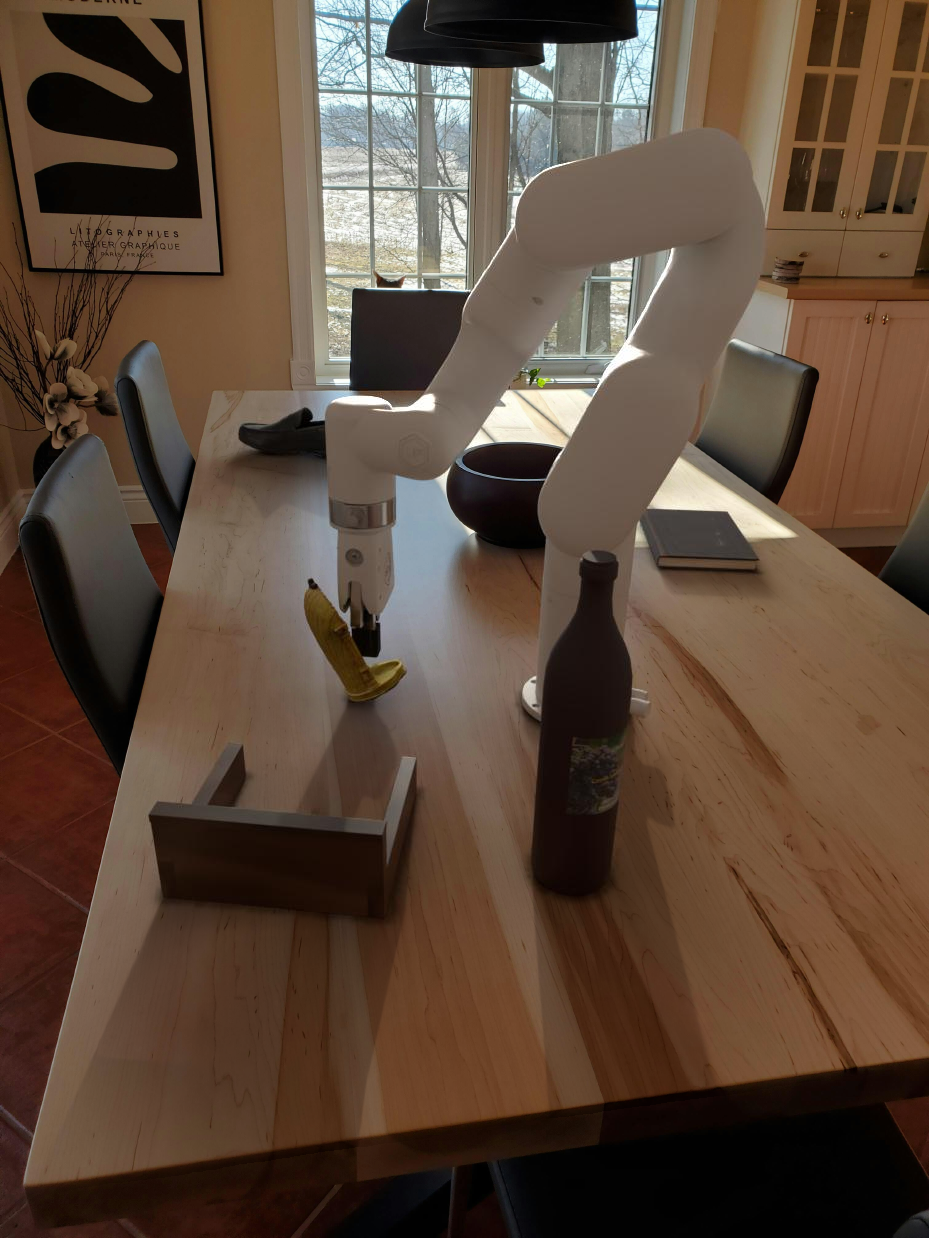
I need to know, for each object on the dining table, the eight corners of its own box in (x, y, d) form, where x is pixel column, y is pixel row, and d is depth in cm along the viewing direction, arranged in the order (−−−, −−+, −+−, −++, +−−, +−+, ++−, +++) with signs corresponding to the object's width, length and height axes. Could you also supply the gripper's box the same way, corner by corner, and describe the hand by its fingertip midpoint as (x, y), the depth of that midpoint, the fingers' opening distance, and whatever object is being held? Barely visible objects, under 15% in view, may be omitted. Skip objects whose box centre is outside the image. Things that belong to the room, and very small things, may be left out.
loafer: (248, 443, 206) (244, 398, 201) (372, 450, 202) (371, 405, 198) (231, 455, 196) (227, 408, 192) (361, 463, 193) (360, 415, 189)
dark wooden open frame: (232, 775, 91) (224, 700, 88) (416, 790, 90) (416, 715, 86) (161, 898, 76) (147, 814, 72) (384, 919, 74) (382, 835, 70)
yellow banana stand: (304, 714, 102) (297, 594, 96) (313, 679, 109) (306, 565, 103) (406, 714, 103) (405, 595, 96) (407, 679, 110) (407, 566, 103)
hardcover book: (725, 523, 164) (727, 511, 163) (757, 572, 143) (759, 559, 142) (637, 520, 164) (639, 508, 163) (656, 568, 144) (658, 555, 143)
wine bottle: (554, 906, 76) (582, 580, 63) (516, 854, 82) (535, 546, 68) (625, 884, 78) (667, 567, 65) (584, 835, 84) (614, 535, 71)
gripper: (382, 535, 94) (385, 687, 102) (406, 491, 107) (407, 628, 115) (312, 530, 95) (320, 681, 103) (345, 488, 108) (350, 624, 116)
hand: (366, 653), depth 109 cm, fingers closed
